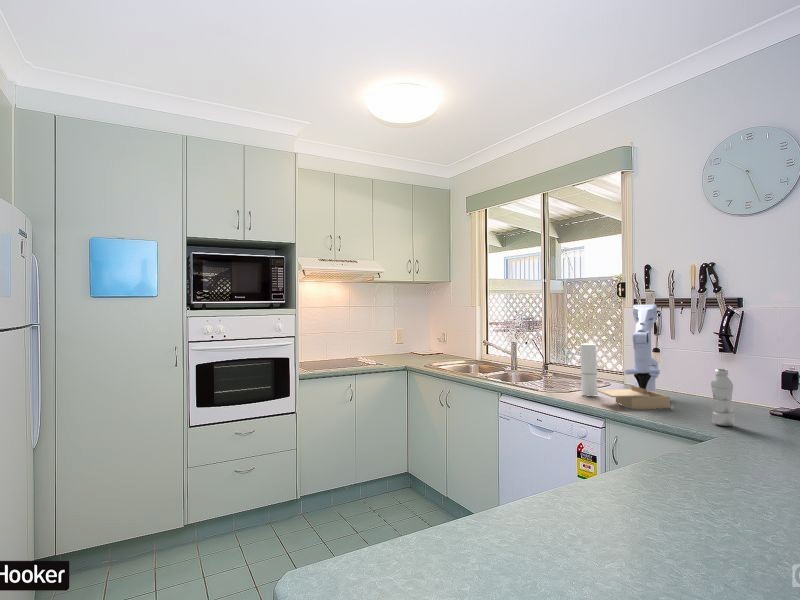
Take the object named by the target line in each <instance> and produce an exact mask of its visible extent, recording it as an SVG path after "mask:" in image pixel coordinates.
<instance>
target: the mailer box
mask: <svg viewBox="0 0 800 600" xmlns="http://www.w3.org/2000/svg"><path fill="white" fill-rule="evenodd" d="M647 394H648V395H650V397H615V403H616V402H617V403H616V404H618V403H620V404H622V405H621V406H623V405H624V406H623V407H625V406H626V407H625V408H627V407H628V409H630V408H631V409H630V410H632V409H635V410H657V409H656V408H670V409H671V404H670V403H671V400H670V397H671V396H668V395H665V394H662V393H658V392H653V391H647ZM620 404H619V405H620Z"/></svg>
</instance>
